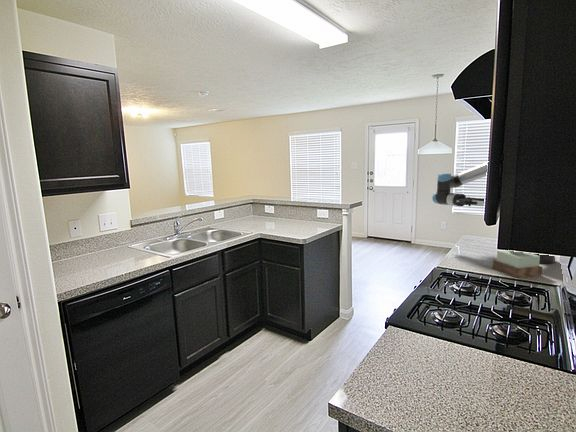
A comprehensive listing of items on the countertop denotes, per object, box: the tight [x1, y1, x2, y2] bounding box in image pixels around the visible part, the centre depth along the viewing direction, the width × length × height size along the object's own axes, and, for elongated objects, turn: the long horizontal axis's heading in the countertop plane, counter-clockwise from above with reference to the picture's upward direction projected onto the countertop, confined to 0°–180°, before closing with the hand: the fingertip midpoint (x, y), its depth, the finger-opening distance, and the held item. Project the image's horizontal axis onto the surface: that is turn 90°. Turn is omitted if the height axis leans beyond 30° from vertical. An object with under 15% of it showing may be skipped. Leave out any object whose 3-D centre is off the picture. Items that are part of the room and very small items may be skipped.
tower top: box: [496, 250, 540, 268], centre depth 158 cm, size 12×12×5 cm
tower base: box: [492, 259, 543, 279], centre depth 159 cm, size 14×14×5 cm
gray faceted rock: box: [509, 251, 523, 255], centre depth 158 cm, size 8×9×10 cm
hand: (491, 203), depth 177 cm, fingers open, 13 cm apart
